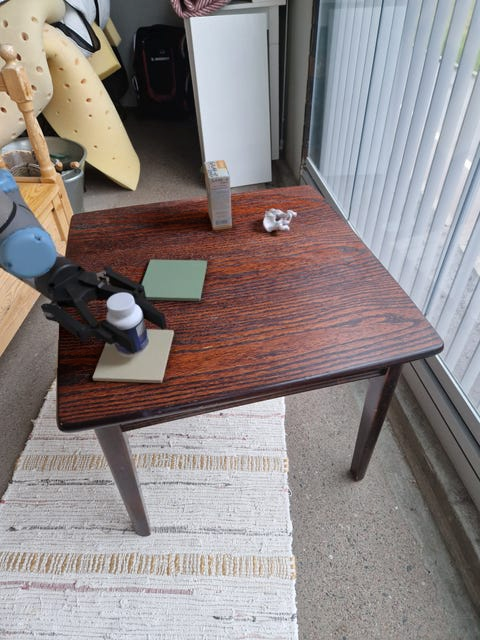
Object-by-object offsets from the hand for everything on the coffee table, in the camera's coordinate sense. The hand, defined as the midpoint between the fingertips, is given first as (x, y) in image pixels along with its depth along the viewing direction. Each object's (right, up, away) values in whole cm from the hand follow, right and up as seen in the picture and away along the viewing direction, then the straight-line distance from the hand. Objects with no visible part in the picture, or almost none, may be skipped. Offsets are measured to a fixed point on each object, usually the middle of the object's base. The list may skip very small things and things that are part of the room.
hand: (148, 333), depth 62 cm
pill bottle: (-4, -2, +7) cm, 8 cm away
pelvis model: (+22, +24, +36) cm, 49 cm away
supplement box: (+9, +26, +39) cm, 47 cm away
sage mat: (0, +10, +22) cm, 24 cm away
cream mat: (-4, -4, +8) cm, 10 cm away
